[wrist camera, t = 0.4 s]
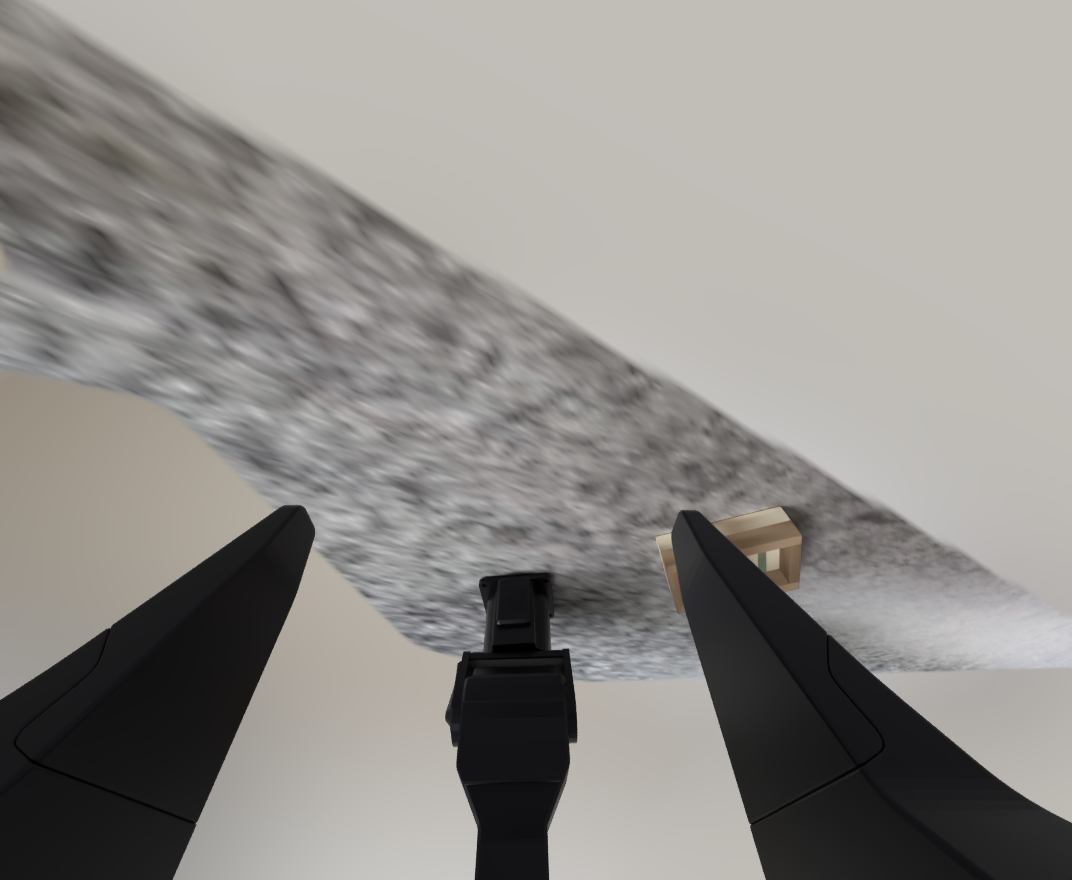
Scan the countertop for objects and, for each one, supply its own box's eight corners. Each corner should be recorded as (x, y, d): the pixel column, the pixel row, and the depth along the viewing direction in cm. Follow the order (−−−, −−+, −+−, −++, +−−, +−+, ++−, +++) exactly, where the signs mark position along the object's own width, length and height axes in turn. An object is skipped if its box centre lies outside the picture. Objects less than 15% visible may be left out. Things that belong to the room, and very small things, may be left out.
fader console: (667, 583, 37) (678, 613, 34) (655, 536, 33) (665, 566, 31) (779, 559, 35) (798, 588, 33) (780, 506, 31) (802, 535, 29)
